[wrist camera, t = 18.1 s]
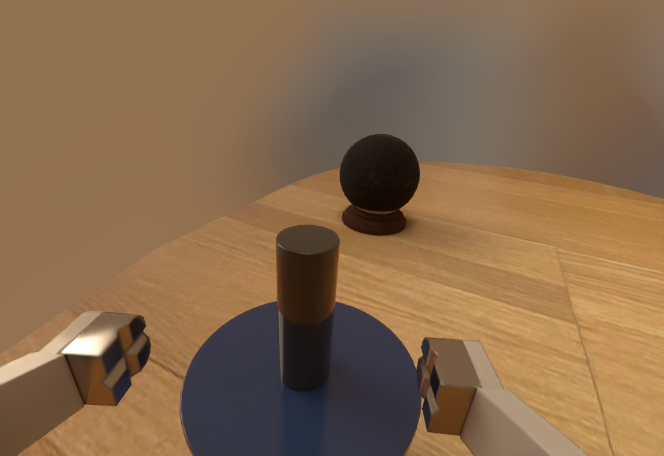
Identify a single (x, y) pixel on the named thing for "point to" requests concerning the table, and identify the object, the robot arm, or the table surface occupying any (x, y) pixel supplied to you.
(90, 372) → the robot arm
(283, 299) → the lid
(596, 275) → the table surface
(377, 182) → the ball on stand
